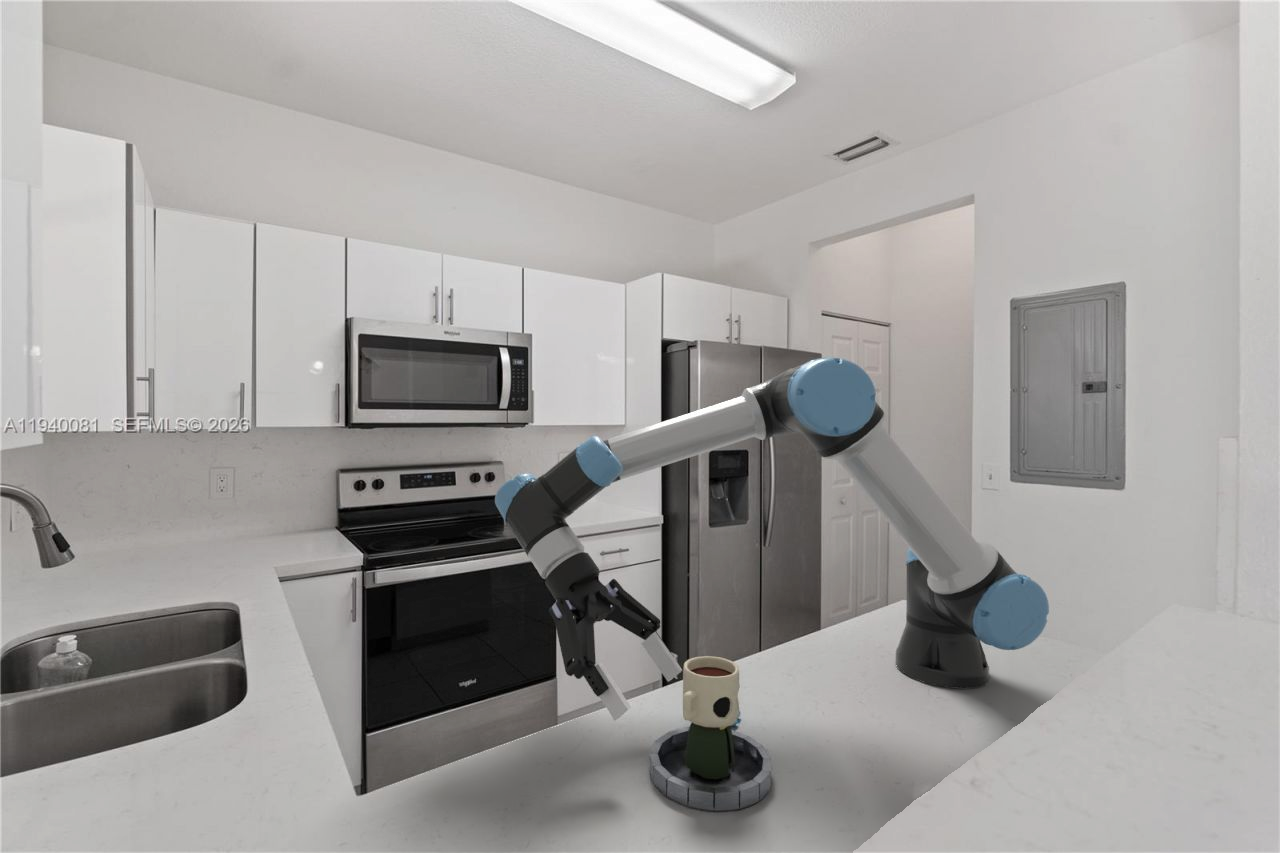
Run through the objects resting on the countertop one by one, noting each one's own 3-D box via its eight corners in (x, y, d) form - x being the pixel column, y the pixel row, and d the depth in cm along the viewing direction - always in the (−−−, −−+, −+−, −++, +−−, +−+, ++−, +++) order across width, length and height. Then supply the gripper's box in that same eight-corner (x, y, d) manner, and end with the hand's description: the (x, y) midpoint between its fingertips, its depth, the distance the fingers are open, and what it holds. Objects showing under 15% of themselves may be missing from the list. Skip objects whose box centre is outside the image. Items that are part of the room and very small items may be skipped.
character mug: (708, 801, 68) (709, 688, 68) (660, 776, 73) (662, 671, 73) (756, 762, 77) (758, 661, 77) (711, 742, 81) (712, 647, 81)
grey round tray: (748, 739, 83) (748, 723, 83) (789, 806, 68) (790, 787, 68) (642, 745, 81) (642, 729, 81) (661, 816, 66) (661, 797, 66)
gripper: (599, 565, 99) (677, 676, 91) (488, 601, 78) (577, 749, 70) (627, 537, 96) (709, 649, 88) (519, 566, 75) (615, 716, 67)
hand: (651, 694), depth 79 cm, fingers open, 13 cm apart
